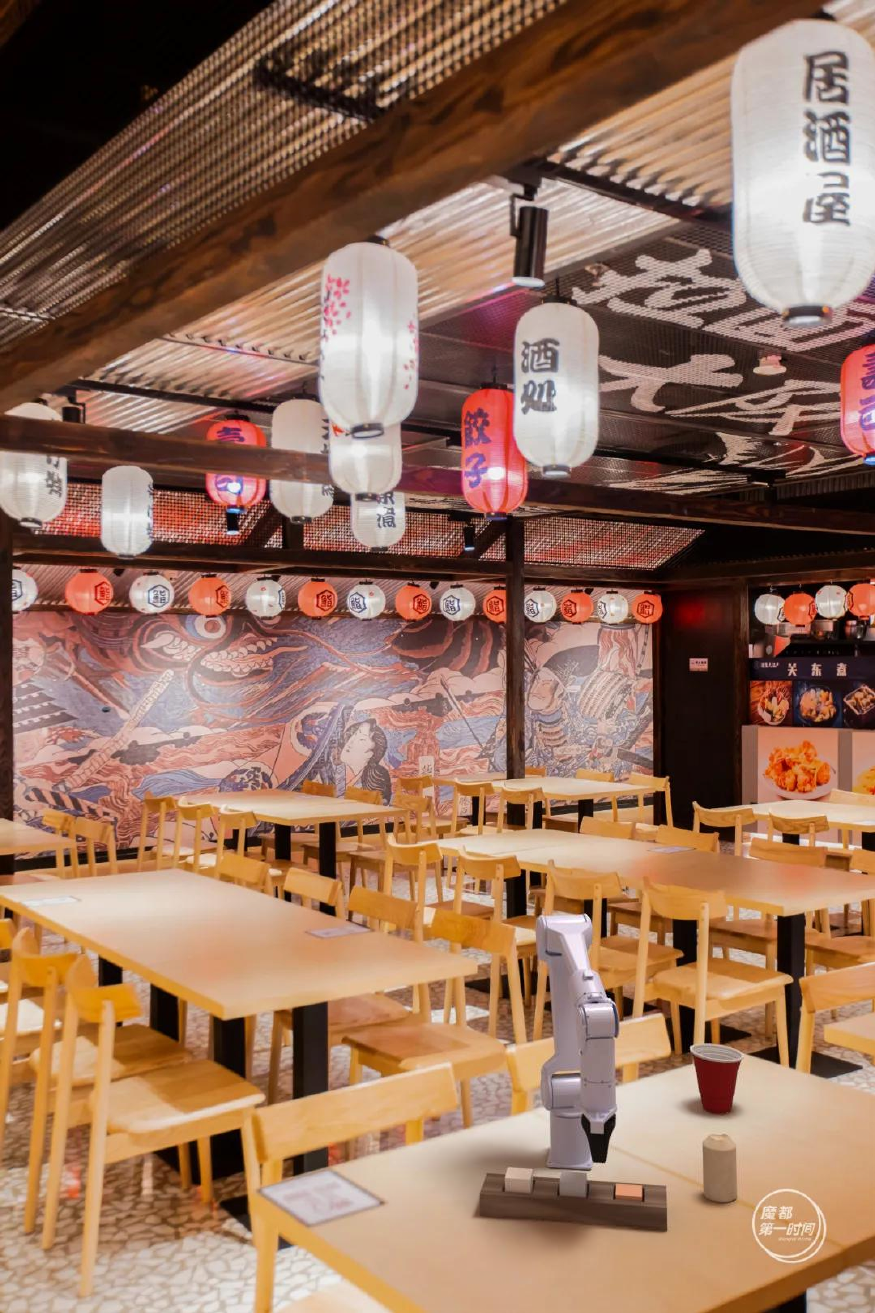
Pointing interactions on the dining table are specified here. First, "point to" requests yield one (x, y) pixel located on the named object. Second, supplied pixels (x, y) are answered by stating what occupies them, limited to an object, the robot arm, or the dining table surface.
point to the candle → (719, 1168)
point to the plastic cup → (716, 1075)
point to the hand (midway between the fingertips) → (599, 1161)
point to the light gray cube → (573, 1184)
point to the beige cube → (519, 1180)
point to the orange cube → (628, 1192)
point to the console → (575, 1204)
